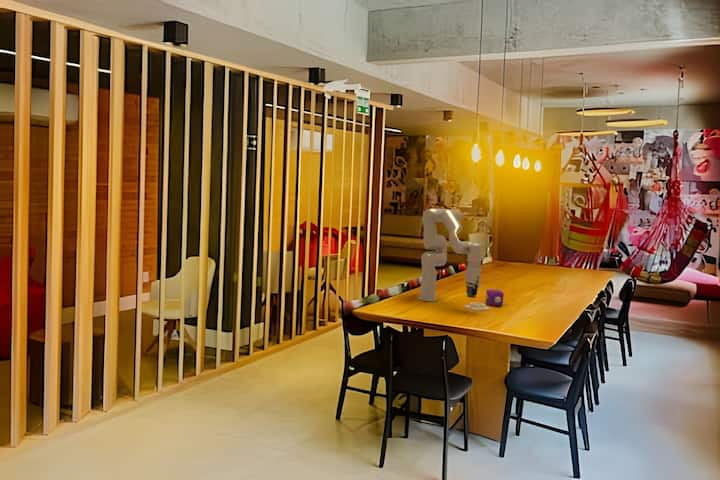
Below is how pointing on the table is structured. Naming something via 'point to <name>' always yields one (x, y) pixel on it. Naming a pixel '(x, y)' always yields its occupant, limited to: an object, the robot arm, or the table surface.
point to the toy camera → (494, 297)
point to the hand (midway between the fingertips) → (471, 293)
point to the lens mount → (477, 306)
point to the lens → (470, 291)
